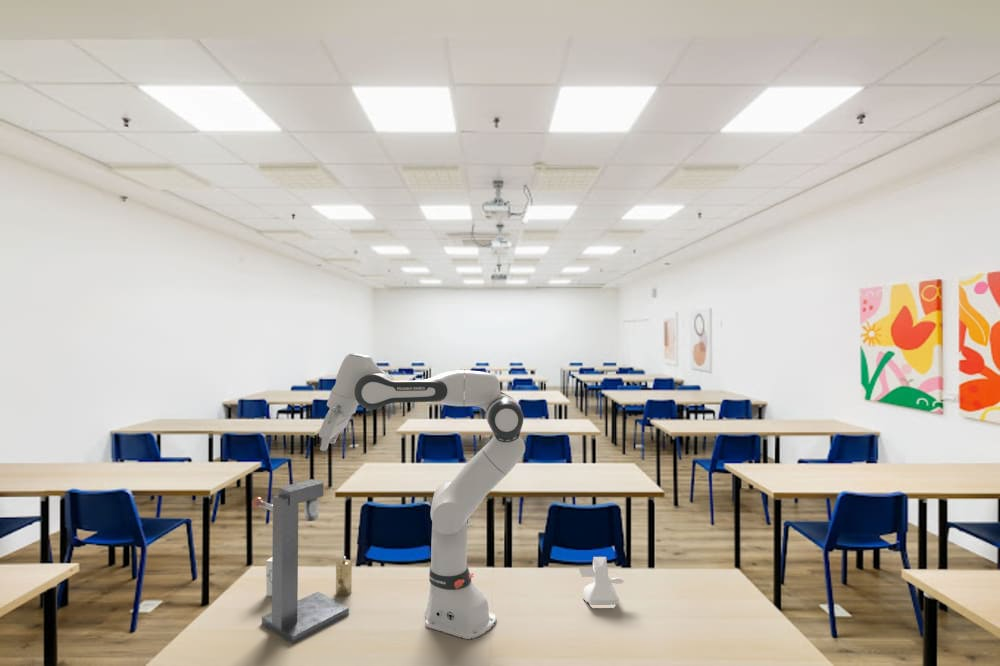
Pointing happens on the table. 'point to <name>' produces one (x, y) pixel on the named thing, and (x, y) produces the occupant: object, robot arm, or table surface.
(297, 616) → the bench press
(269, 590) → the ink cartridge box
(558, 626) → the table surface
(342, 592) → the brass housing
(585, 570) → the white irregular piece
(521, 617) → the table surface
